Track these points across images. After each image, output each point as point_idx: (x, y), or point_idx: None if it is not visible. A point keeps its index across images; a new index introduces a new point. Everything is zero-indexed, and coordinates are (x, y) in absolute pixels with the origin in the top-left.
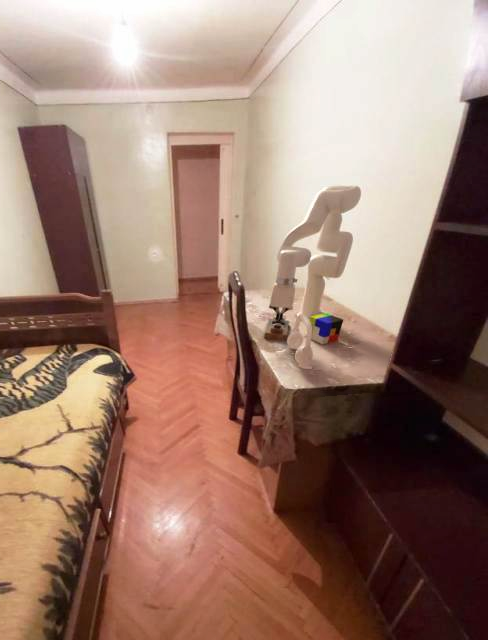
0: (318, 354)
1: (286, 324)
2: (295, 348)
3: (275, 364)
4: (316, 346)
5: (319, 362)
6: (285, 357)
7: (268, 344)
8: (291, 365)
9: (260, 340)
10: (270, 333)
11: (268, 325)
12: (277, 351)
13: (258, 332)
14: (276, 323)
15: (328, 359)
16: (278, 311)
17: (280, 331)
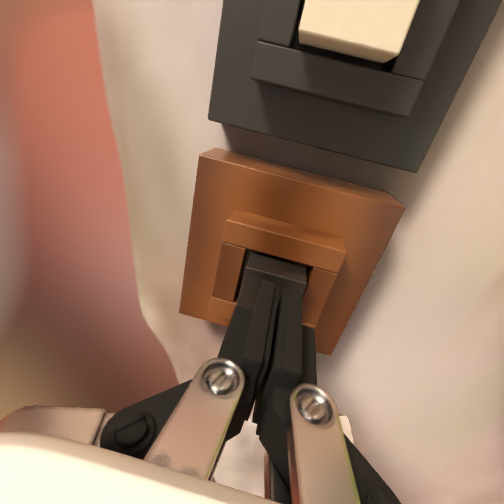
0: (442, 461)
1: (443, 65)
2: (343, 422)
3: (227, 484)
4: (493, 400)
5: (403, 501)
6: None
7: None
8: None
9: (171, 315)
10: (216, 323)
11: (209, 160)
12: (249, 420)
13: (151, 190)
14: (259, 279)
15: (461, 494)
16: (216, 460)
17: None
